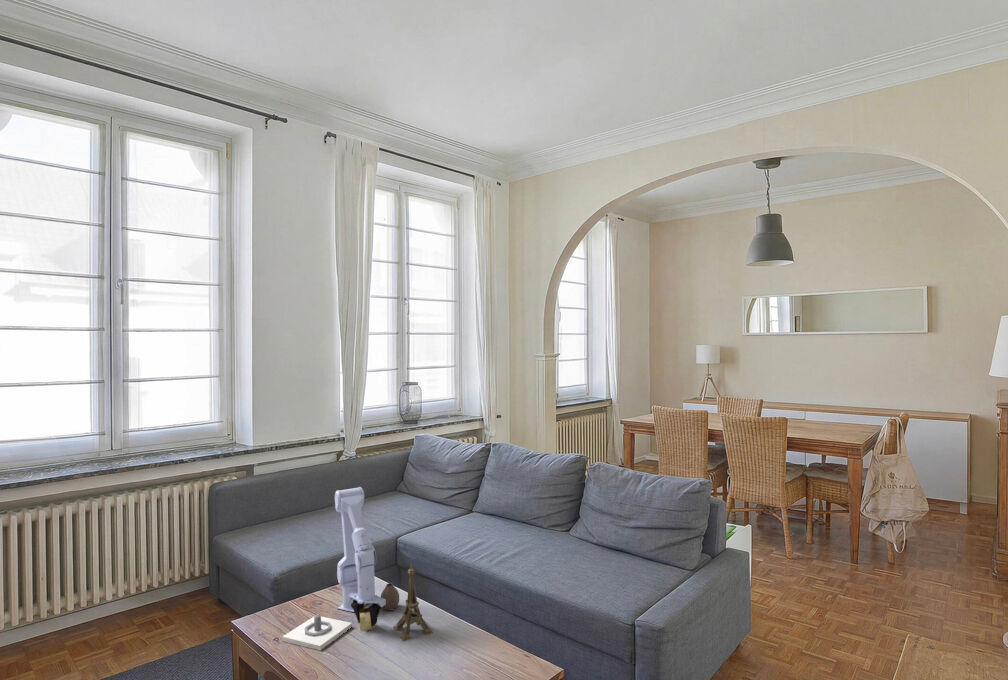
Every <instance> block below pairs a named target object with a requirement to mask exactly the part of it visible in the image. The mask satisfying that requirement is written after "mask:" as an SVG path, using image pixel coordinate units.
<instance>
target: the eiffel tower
mask: <svg viewBox="0 0 1008 680" xmlns="http://www.w3.org/2000/svg"><path fill="white" fill-rule="evenodd" d="M407 569H408V568H407ZM415 571H416V570H415V569H414V568H413V564H410V568H409V569H408V570H407V573H408V588H407V598H406V600H405V604H406V605H405V609H404V612H402V616H401V617H400V618H399V620H398V621H397V622H396V624H395V626H393V629H394V630H395V631H396V632H397V631H400V630H403V631H402V634H401V636H400V640H401V641H402V642H406V641H409V640H410V641H411V639H412V638H411V636H410V635H411V634H410V631H411V625H413V624H416V625H417V626H421V628H422V633H423V634H424V635H425V636H428V635H431V634H434V632H433V631H432V629H431V628H430V627H429V626H428V624H427V622H426V621H425V620H424V619H423V614H422V613H421V612H420V608H419V605H420V602H419V601H418V599H417V598H418V597H417V591H416V585H415V584H416V583H415V582H416V581H415V576H414V574H416V572H415ZM405 624H406V625H405ZM404 626H405V628H404Z"/></svg>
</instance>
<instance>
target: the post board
mask: <svg viewBox="0 0 1008 680" xmlns="http://www.w3.org/2000/svg"><path fill="white" fill-rule="evenodd" d="M351 627H352V628H353V623H352V622H348V621H344V620H339V619H335V618H330V617H325V616H322V615H320V614H317V615H314V616H313V617H311V618H310V619H309V618H308V620H306V621H304V622H303V623H302V624H300V625H298V626H297V627H295V628H293V629H292V630H291V631H289V632H287V633H285V634H284V635H283V636H281V637H282V642H285V643H289V644H293V645H298V646H301V647H305V648H307V649H308V648H309V649H312V650H317V651H321V650H323V649H324V648H326V647H327V646H329V645H330V644H331V643H333V642H334V641H335V640H337V639H339V636H340V637H341V636H343V633H344V634H345V633H346V632H347V630H348V629H349V630H351V629H352V628H351ZM350 628H351V629H350ZM349 630H348V631H349ZM332 641H333V642H332Z"/></svg>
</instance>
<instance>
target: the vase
mask: <svg viewBox="0 0 1008 680" xmlns="http://www.w3.org/2000/svg"><path fill="white" fill-rule="evenodd" d="M380 594H381V595H380V597H381V598H383V599H386V605H384V606H383V607H382V608H383V609H384V610H385V611H393V609H394V610H395V609H396V608H397V607H398V606H399V604H400V593H399V590H398V589H397V588H396V587H395V586H394V584H393V583H391V582H389V583H387V584H386V585H385V587H384V588H383V590H382V592H381V593H380Z"/></svg>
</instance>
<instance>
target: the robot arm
mask: <svg viewBox="0 0 1008 680" xmlns="http://www.w3.org/2000/svg"><path fill="white" fill-rule="evenodd" d="M364 502H365V491H364V489H363V488H362V487H361V486H358V487H353V488H348V489H341V490H339V489H337V490H336V491H335V492H334V508H335V511H336V512H337V513H340V516H341V527H342V528H341V529H342V541H343V553H344V554H343V555H344V556H343V557H342V558H341V559H340V560H339V561H338V563H337V567H336V569H337V571H336V577H337V581H338V584H339V585H341V588H342V592H341V593H342V604H341V605H339V606H338V607H337V609H338V610H341V611H347V612H352V613H354V614H355V616H356V619H357V622H358V623H357V624H360V620H359V610H360V609H362V608H363V607H365V606H366V605H367V604H371V605H370V606H367V607H368V609H369V612H370V617H371V626H374V625H375V626H376V624H378V623H377V622H378V618H379V615H380V612H381V609H382V608H383V606H384V605H386V599H383V598H381V596H379V595H376V585H375V565H376V564H377V553H376V550H375V549H376V548H375V547H374V546H373V544H372V542H371V540H370V534H369V530H368V529H366V528H365V527H364V521H363V514H362V507H363V505H364Z"/></svg>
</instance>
